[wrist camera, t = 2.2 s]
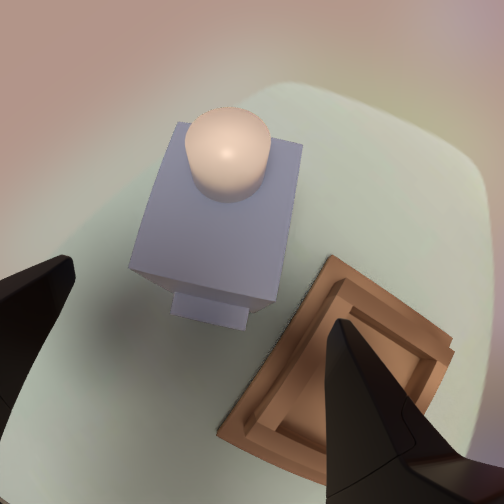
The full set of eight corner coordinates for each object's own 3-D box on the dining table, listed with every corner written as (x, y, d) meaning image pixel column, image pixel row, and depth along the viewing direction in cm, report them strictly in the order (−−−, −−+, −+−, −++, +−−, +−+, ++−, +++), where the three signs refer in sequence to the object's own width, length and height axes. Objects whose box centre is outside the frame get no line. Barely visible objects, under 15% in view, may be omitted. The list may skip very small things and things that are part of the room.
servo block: (250, 331, 19) (277, 341, 7) (174, 314, 19) (94, 296, 7) (274, 209, 21) (317, 89, 10) (204, 195, 21) (181, 66, 9)
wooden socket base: (355, 492, 16) (370, 509, 14) (216, 431, 17) (214, 448, 14) (446, 338, 20) (470, 337, 17) (328, 257, 21) (343, 246, 18)
